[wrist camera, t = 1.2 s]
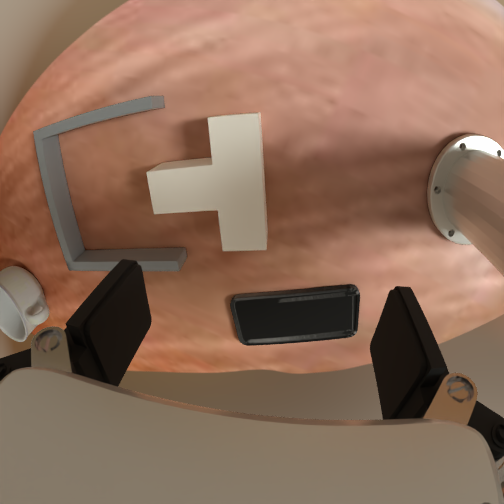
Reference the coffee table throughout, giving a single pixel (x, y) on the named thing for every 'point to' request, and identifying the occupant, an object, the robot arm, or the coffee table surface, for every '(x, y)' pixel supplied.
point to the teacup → (20, 303)
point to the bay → (63, 206)
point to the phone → (296, 315)
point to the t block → (221, 182)
